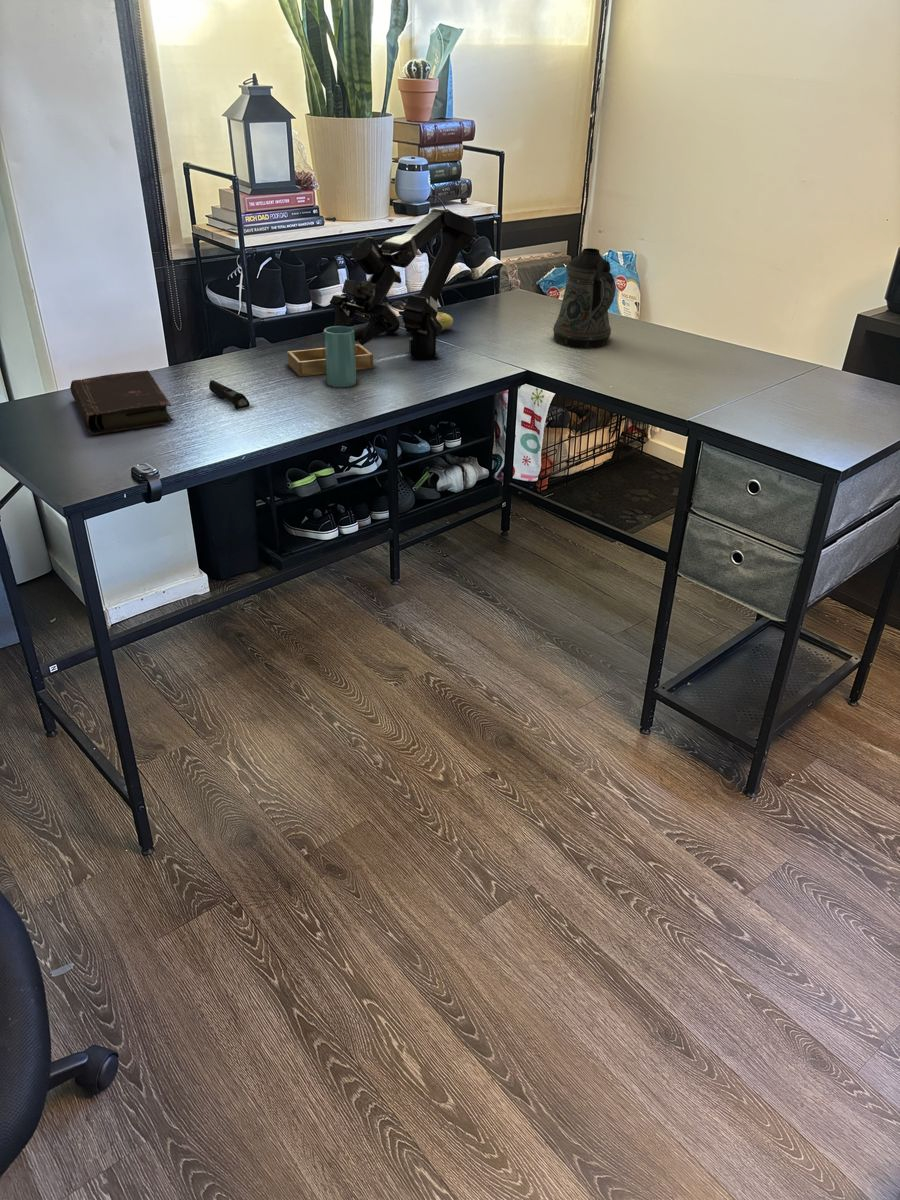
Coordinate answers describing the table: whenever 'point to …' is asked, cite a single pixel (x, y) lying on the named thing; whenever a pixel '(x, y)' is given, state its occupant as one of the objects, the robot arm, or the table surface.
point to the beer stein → (586, 302)
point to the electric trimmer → (229, 395)
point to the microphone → (361, 330)
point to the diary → (120, 402)
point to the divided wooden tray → (324, 360)
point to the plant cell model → (443, 320)
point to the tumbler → (340, 356)
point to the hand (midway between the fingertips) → (347, 340)
